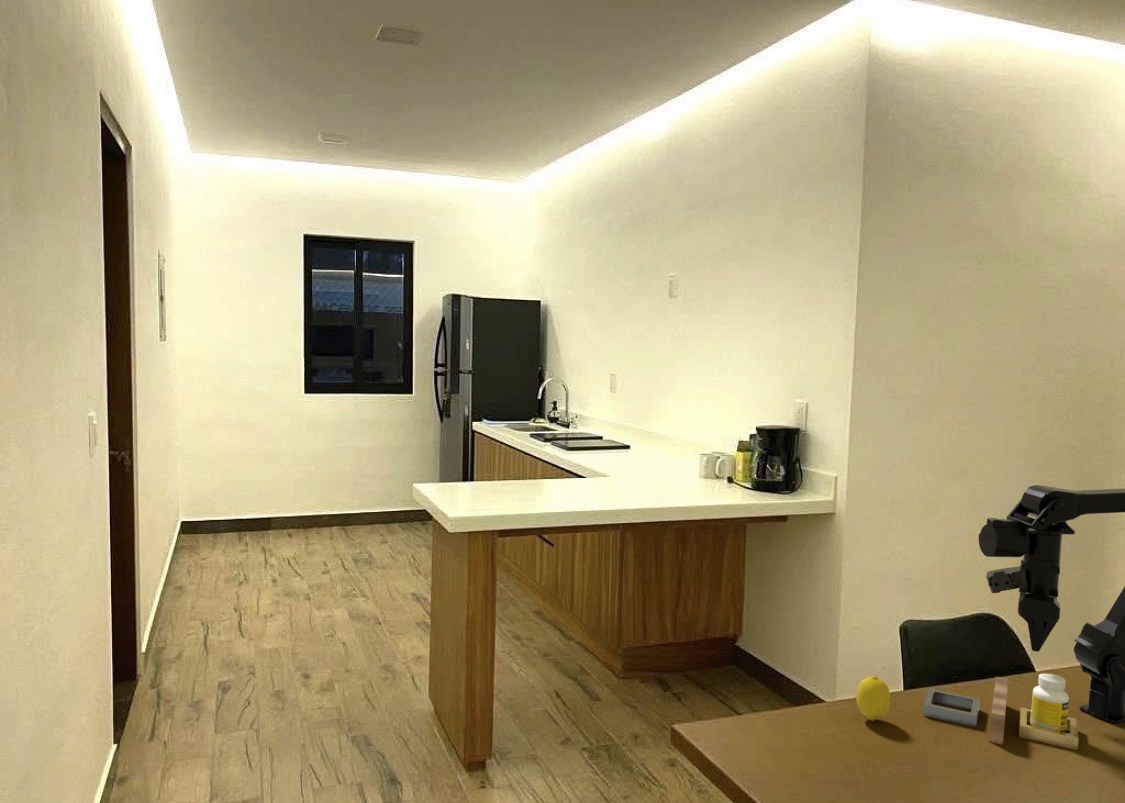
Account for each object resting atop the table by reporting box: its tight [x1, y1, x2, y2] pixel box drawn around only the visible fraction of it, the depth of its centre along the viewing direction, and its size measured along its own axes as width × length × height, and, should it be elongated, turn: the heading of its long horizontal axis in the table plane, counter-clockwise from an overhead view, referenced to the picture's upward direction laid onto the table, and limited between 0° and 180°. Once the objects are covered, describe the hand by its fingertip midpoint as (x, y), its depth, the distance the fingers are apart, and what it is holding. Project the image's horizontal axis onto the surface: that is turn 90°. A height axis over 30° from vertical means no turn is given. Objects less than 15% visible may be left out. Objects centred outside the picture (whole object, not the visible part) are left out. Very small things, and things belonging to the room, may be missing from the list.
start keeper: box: [922, 688, 981, 728], centre depth 152 cm, size 8×8×2 cm
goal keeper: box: [1018, 707, 1079, 751], centre depth 145 cm, size 8×8×2 cm
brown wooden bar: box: [989, 676, 1009, 746], centre depth 149 cm, size 18×2×5 cm, turn 151°
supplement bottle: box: [1029, 673, 1070, 733], centre depth 145 cm, size 5×5×10 cm
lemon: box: [855, 675, 891, 722], centre depth 148 cm, size 6×6×8 cm
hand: (1035, 643), depth 152 cm, fingers open, 9 cm apart
